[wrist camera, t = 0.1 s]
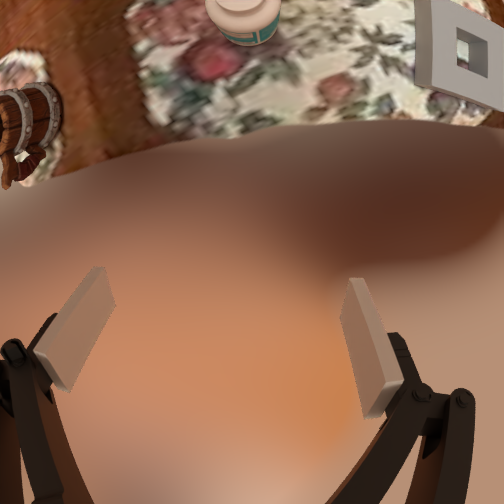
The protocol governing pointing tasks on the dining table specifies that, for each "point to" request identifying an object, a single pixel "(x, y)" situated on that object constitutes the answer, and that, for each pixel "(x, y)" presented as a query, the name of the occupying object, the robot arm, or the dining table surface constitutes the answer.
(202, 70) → the dining table surface
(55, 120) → the mug
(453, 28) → the socket
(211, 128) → the dining table surface
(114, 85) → the dining table surface
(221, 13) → the pill bottle
